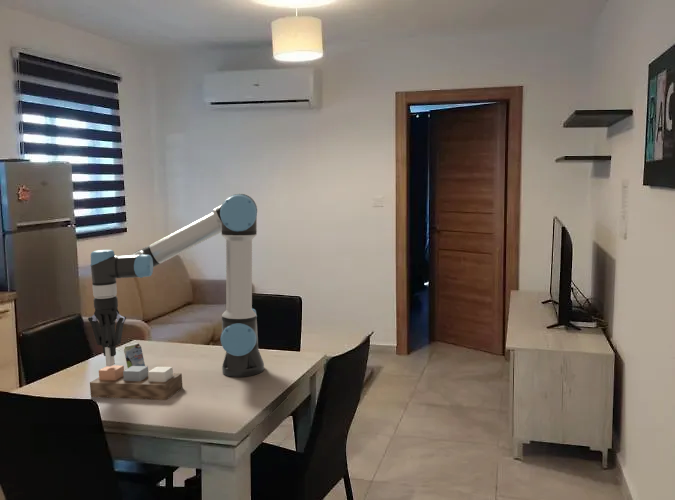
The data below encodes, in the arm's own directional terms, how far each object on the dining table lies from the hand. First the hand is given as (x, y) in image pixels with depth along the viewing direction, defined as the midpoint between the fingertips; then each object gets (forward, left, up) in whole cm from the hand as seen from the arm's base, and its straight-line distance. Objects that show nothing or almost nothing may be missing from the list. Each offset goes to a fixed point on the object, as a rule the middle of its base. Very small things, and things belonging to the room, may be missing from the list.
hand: (110, 365), depth 214 cm
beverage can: (+1, -17, -9) cm, 19 cm away
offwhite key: (-18, 0, -5) cm, 19 cm away
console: (-9, 0, -9) cm, 13 cm away
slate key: (-9, 0, -5) cm, 10 cm away
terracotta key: (0, 0, -5) cm, 5 cm away
